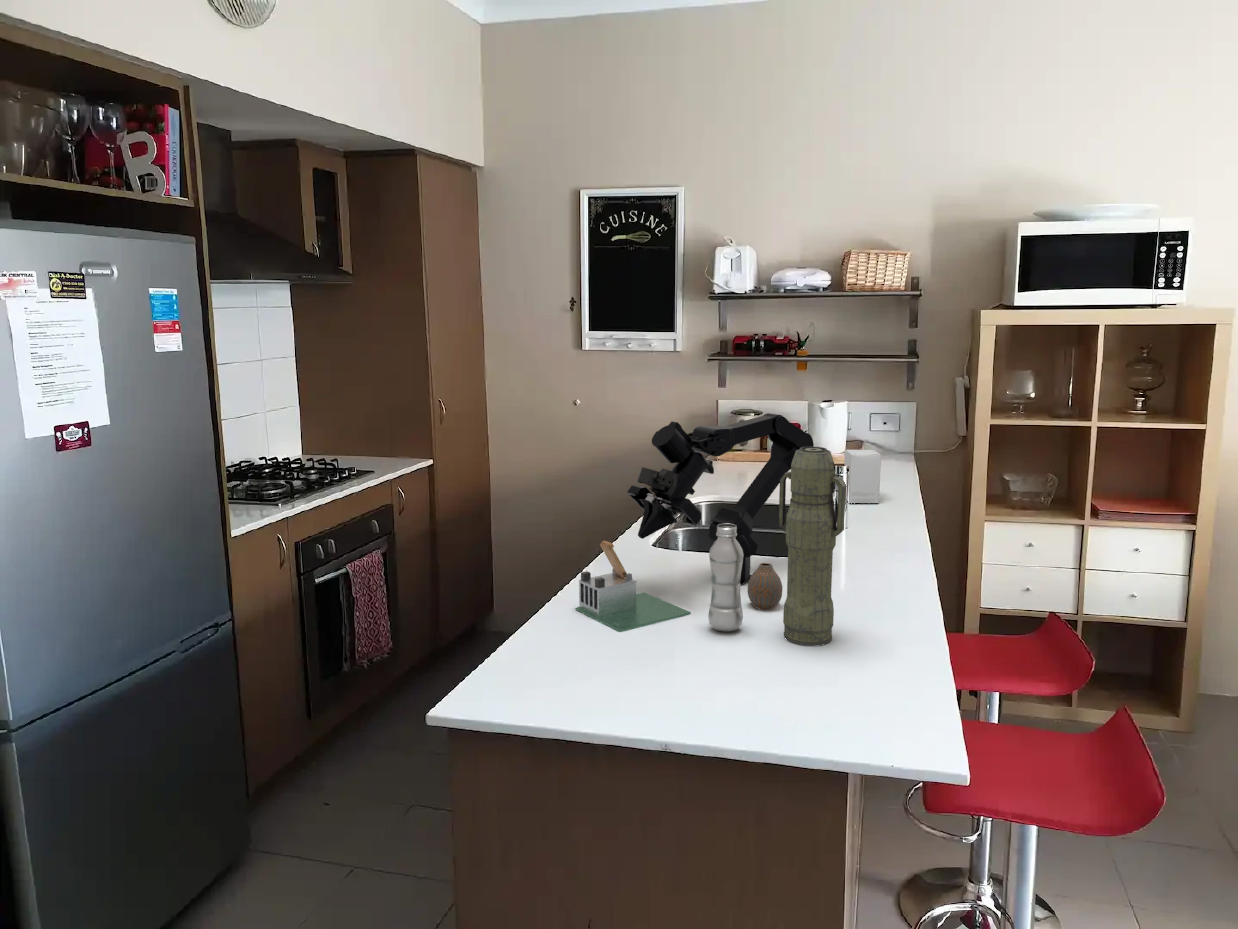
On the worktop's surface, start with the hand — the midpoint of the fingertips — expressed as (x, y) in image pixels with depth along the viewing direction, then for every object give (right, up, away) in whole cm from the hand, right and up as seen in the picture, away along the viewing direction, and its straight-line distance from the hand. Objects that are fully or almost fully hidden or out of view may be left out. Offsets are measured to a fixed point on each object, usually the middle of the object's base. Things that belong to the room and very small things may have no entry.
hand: (640, 537), depth 195 cm
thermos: (+30, -17, -18) cm, 39 cm away
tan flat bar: (-6, -5, -3) cm, 8 cm away
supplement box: (+68, +4, +93) cm, 115 cm away
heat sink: (-2, -15, -4) cm, 15 cm away
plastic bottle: (+16, -16, -14) cm, 27 cm away
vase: (+25, -14, -1) cm, 29 cm away
